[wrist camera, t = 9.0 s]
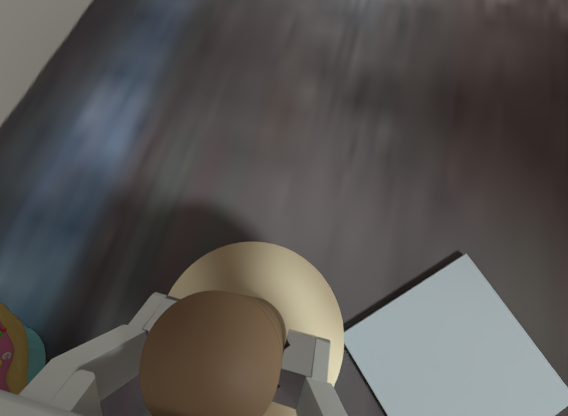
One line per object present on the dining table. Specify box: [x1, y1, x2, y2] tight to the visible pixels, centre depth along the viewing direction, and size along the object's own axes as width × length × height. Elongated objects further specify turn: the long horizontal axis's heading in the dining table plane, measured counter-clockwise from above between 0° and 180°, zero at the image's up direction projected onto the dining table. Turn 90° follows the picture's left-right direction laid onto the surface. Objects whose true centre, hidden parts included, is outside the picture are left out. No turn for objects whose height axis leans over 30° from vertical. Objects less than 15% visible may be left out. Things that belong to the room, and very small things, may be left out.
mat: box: [344, 254, 568, 416], centre depth 20 cm, size 10×10×1 cm
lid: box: [139, 242, 344, 416], centre depth 12 cm, size 9×9×9 cm
